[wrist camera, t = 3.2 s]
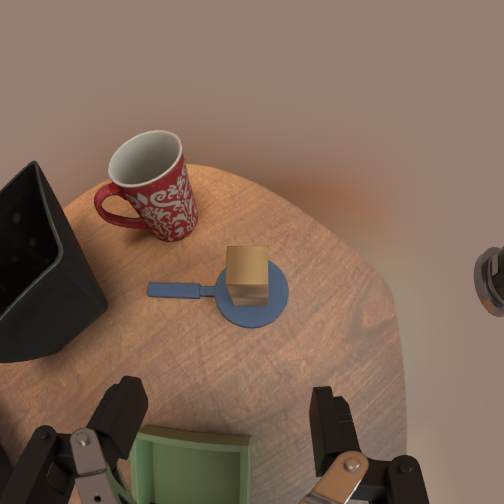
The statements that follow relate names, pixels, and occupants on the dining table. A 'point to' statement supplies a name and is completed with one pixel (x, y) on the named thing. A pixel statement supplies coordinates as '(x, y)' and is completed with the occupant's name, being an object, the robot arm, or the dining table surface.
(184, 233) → the mug
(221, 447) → the green storage bin
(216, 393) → the dining table surface
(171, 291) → the blue ping pong paddle
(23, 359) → the flower pot
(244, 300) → the wooden block
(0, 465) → the bowl
